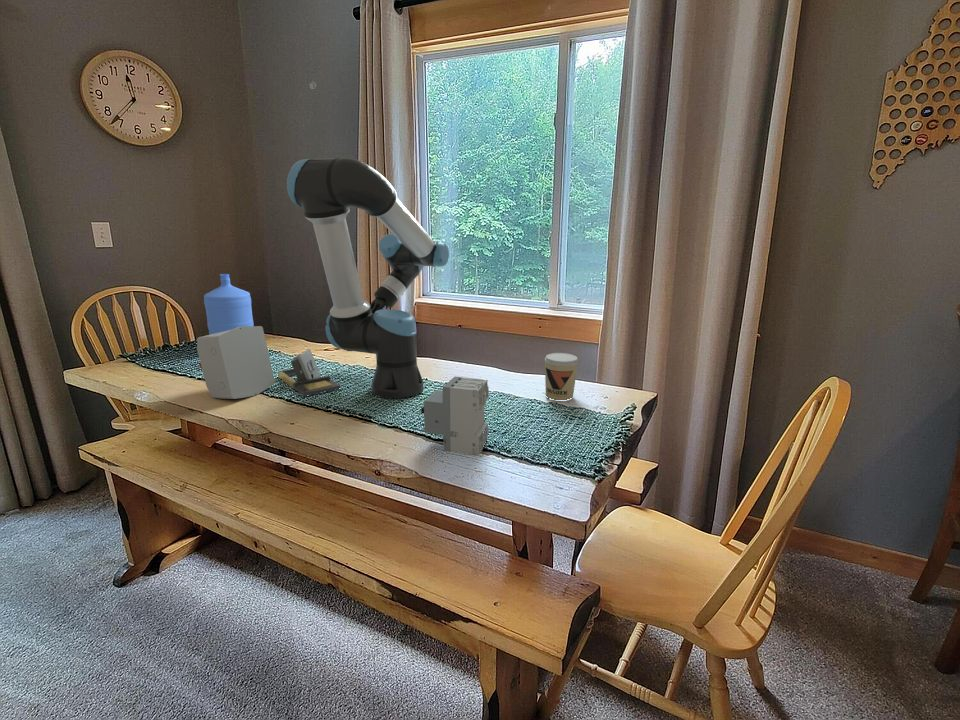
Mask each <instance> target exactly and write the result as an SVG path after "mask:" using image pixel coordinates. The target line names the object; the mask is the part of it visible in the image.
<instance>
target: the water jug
mask: <svg viewBox="0 0 960 720" xmlns="http://www.w3.org/2000/svg"><path fill="white" fill-rule="evenodd" d="M219 276H220V279H219V280H220V283H221V284H220V285H219V287H216V288H214V289H212V290H211V291H209V292H207V293H205V294H204V295H203V303H204V308H205V313H206V320H207V329H208V333H209V334H208V335H211V334H215V333H220V332H224V331H228V330H232V329H234V328H237V327H240V326H255V325H254V318H253V317H254V316H253V310H252V309H253V308H252V297H251V293H250V291H246V290H244V289H241V288H238V287H237V286H234V285H232V284H231V278H230V274H229V273H221V274H219Z"/></svg>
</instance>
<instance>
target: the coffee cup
mask: <svg viewBox="0 0 960 720" xmlns="http://www.w3.org/2000/svg"><path fill="white" fill-rule="evenodd" d="M578 363H579V359H578V357H577V356H576V355H574V354H571V353H565V352H552V353H548V354H546V356H545V357H544V366H545V367H544V371H545V373H544V374H545V377H544V378H545V380H544V381H545V397H546V396H547V397H548V398H551V399H554V400H567V399H570V398H572V397H573V398H574V394H575V393H574V392H575V385H576V377H577V373H578V372H577V370H578ZM547 397H546V398H547ZM548 398H547V399H548ZM573 398H572V399H573Z"/></svg>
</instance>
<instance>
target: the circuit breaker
mask: <svg viewBox="0 0 960 720" xmlns="http://www.w3.org/2000/svg"><path fill="white" fill-rule="evenodd" d="M488 381H489V380H488V379H482V378H475V377H474V378H473V377H467V376H465V377H464V376H453V377H452V378H451V379H450V380H449V381H448V382H446V383H445V384H444V385H443V386H442V389H436V390H434V392H433V393H431V394H430V395H429V396H428V397H427V398H426V399H425V400H424V401H423V407H421V409H420V410H421V412H420V414H422V415H423V420H424V421H423V422H424V423H423V425H424V428H423V429H424V433H425V434H427V433H428V434H434V435H439V436H440V435H441V436H442V440H443V442H442V446H443V447H442V449H443V451H446V452H451V453H452V452H453V453H459V454H464V455H465V454H466V455H476V456H479V455H480V454H481V453H482V451H483V449H484V448H483V444H484V442H486V440H488V437H489V423H488V422H486V421H485V405H486V404H487V400H488V399H489V397H490V396H489V395H490V394H489V391H490V390H489V386H488Z"/></svg>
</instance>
